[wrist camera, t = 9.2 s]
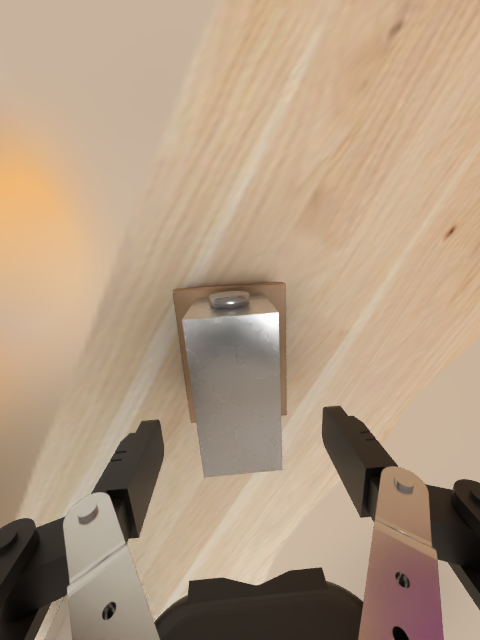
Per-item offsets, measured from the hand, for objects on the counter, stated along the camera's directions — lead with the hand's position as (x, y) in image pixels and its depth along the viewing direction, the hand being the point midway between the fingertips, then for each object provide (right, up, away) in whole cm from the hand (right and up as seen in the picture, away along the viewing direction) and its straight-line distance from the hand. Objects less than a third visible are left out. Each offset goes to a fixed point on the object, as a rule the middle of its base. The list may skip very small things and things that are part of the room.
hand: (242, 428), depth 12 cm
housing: (-1, +2, +7) cm, 7 cm away
